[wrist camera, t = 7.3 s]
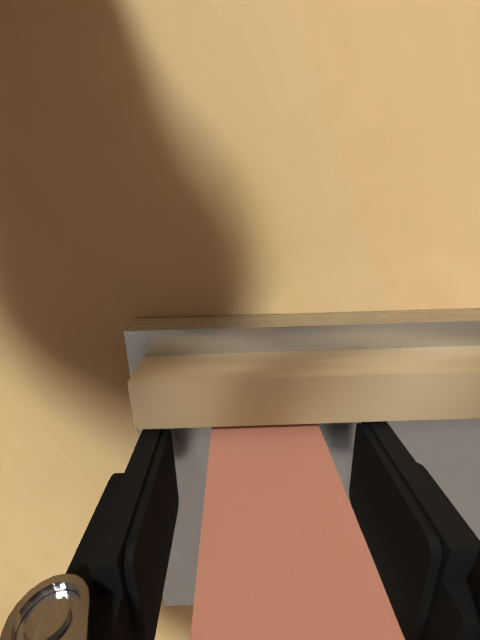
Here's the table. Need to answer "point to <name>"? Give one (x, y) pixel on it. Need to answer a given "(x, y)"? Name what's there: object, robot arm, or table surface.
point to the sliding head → (283, 544)
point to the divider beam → (305, 387)
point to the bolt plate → (317, 335)
